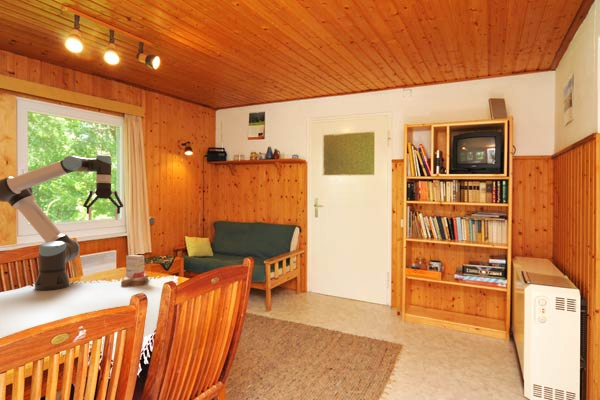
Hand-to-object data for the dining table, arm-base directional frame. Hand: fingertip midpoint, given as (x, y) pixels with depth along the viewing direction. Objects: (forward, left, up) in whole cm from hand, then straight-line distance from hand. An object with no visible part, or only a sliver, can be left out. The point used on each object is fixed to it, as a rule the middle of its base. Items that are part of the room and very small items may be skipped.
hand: (103, 219), depth 207 cm
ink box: (+18, -10, -31) cm, 38 cm away
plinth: (+18, -10, -35) cm, 40 cm away
